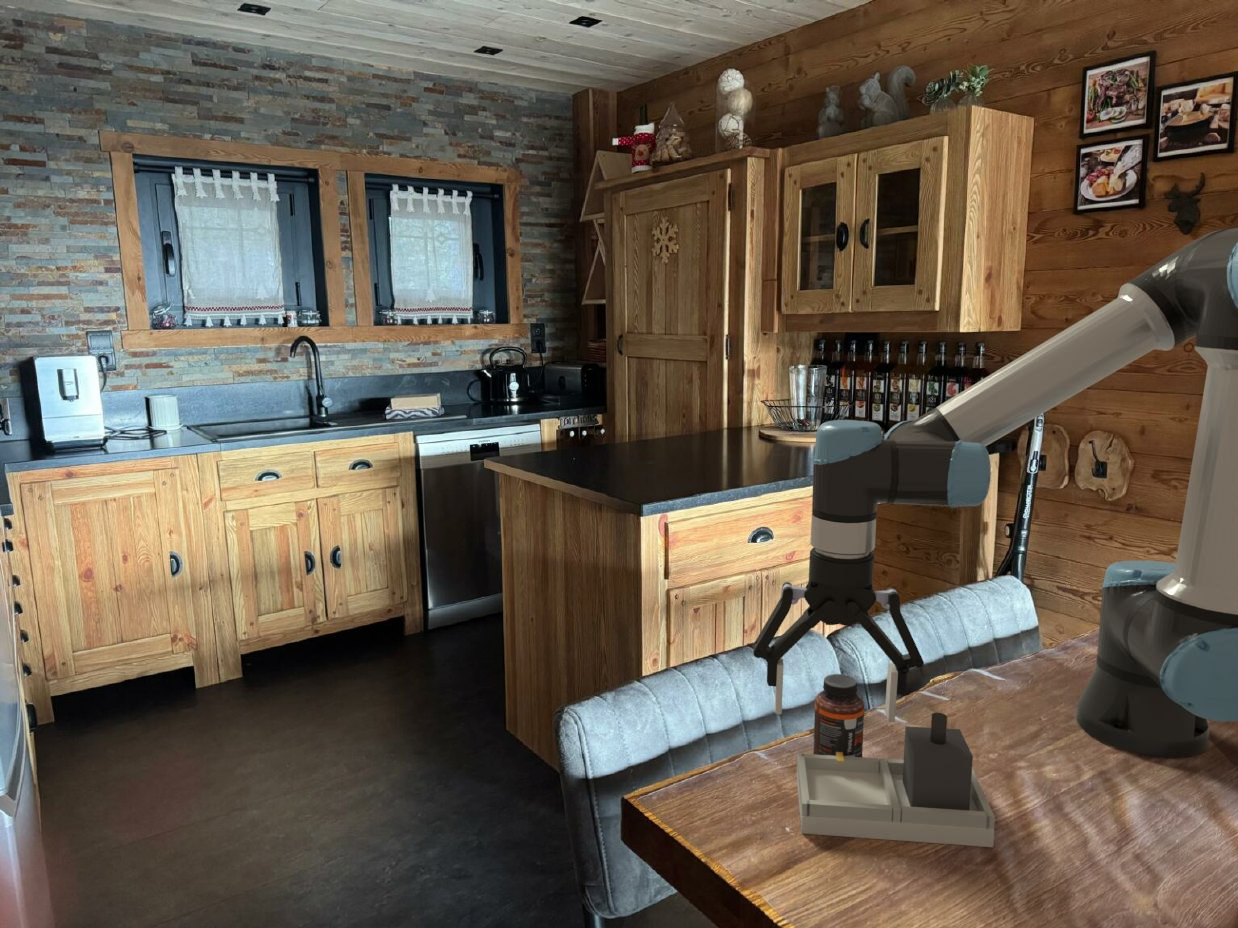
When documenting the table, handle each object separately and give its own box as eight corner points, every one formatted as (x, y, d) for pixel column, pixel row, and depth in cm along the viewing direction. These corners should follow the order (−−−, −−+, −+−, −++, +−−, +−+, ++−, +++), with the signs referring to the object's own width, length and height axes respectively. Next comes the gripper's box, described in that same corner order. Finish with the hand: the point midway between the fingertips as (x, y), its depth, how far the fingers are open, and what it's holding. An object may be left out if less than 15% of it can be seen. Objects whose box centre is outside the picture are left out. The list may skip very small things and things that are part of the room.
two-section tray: (967, 787, 104) (969, 759, 103) (993, 847, 93) (995, 815, 92) (796, 777, 107) (797, 749, 106) (801, 833, 95) (802, 802, 95)
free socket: (877, 766, 105) (877, 754, 104) (891, 821, 94) (892, 807, 94) (796, 762, 106) (797, 749, 106) (802, 815, 95) (802, 801, 95)
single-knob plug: (956, 784, 101) (961, 704, 99) (969, 815, 95) (974, 730, 93) (902, 781, 102) (906, 702, 100) (911, 811, 96) (916, 727, 94)
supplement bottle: (863, 779, 106) (867, 692, 104) (813, 774, 107) (816, 689, 105) (860, 753, 112) (863, 671, 109) (812, 749, 113) (815, 668, 111)
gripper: (943, 545, 106) (931, 705, 110) (737, 536, 110) (733, 692, 114) (957, 563, 99) (944, 735, 103) (736, 554, 103) (732, 720, 107)
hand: (833, 713), depth 109 cm, fingers open, 13 cm apart
